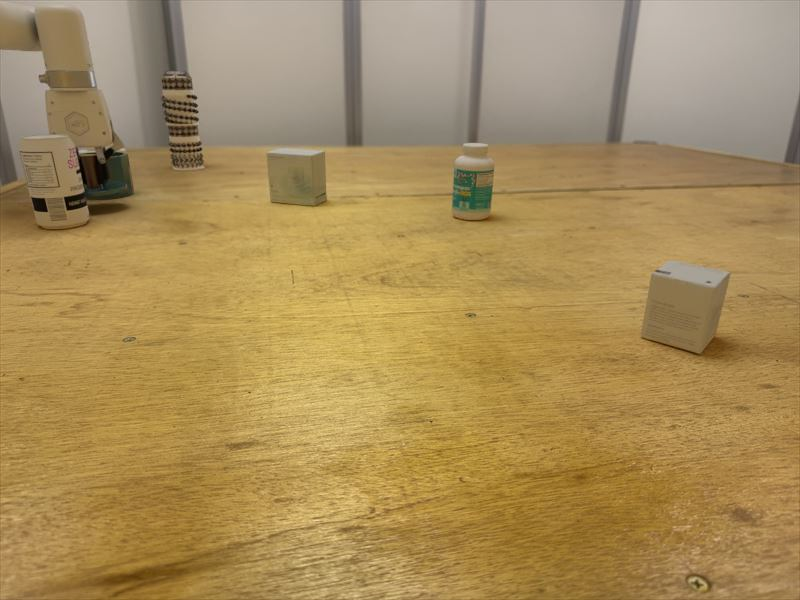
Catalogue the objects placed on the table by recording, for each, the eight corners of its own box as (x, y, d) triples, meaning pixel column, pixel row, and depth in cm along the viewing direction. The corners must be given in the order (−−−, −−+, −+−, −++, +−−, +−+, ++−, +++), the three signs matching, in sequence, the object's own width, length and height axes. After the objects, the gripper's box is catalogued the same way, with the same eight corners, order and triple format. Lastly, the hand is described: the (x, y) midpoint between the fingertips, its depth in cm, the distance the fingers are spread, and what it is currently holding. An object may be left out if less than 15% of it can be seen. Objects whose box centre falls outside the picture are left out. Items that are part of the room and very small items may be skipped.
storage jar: (75, 200, 115) (66, 158, 111) (87, 190, 124) (79, 152, 121) (129, 198, 117) (122, 157, 114) (137, 188, 126) (131, 151, 123)
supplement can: (31, 223, 97) (9, 135, 92) (82, 216, 103) (64, 132, 97) (44, 232, 92) (21, 140, 86) (97, 224, 97) (79, 136, 92)
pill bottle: (444, 214, 108) (447, 142, 102) (475, 210, 111) (480, 141, 106) (465, 223, 101) (470, 147, 96) (498, 219, 105) (504, 145, 99)
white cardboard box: (716, 336, 59) (733, 271, 56) (699, 356, 55) (717, 286, 52) (657, 320, 62) (670, 258, 60) (637, 337, 58) (651, 271, 55)
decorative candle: (198, 164, 160) (186, 71, 150) (211, 168, 153) (199, 71, 144) (166, 167, 154) (151, 71, 145) (178, 171, 148) (164, 71, 138)
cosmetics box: (269, 202, 115) (265, 151, 111) (284, 196, 121) (281, 147, 117) (314, 206, 112) (311, 154, 108) (328, 200, 118) (326, 150, 114)
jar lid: (54, 200, 101) (44, 160, 98) (71, 188, 111) (63, 151, 108) (121, 197, 103) (114, 158, 101) (132, 186, 114) (126, 150, 111)
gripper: (13, 82, 94) (40, 189, 101) (118, 82, 98) (136, 185, 105) (28, 81, 101) (52, 182, 108) (125, 81, 105) (142, 178, 112)
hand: (93, 183), depth 106 cm, fingers closed on jar lid, 3 cm apart
